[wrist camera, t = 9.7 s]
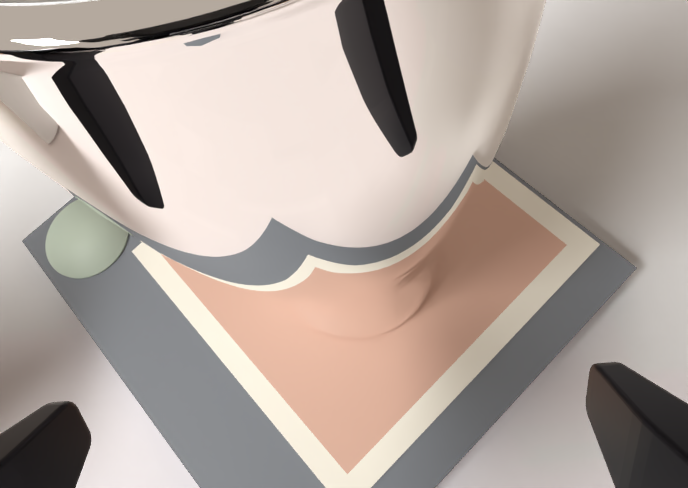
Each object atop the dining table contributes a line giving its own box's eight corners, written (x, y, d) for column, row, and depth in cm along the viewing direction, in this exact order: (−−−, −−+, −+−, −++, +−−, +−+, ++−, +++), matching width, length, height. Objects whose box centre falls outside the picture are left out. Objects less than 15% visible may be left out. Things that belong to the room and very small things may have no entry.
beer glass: (377, 393, 16) (157, 381, 2) (228, 279, 18) (-448, -168, 4) (486, 234, 17) (879, -531, 3) (336, 144, 19) (144, -581, 5)
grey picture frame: (624, 275, 17) (638, 267, 16) (309, 616, 15) (302, 632, 14) (303, 23, 23) (298, 5, 22) (39, 248, 21) (20, 240, 19)
